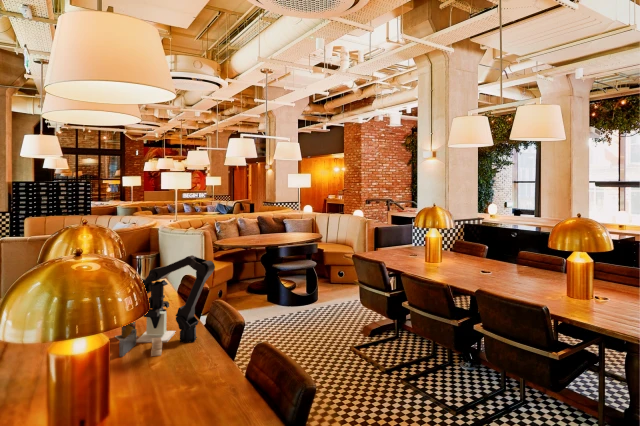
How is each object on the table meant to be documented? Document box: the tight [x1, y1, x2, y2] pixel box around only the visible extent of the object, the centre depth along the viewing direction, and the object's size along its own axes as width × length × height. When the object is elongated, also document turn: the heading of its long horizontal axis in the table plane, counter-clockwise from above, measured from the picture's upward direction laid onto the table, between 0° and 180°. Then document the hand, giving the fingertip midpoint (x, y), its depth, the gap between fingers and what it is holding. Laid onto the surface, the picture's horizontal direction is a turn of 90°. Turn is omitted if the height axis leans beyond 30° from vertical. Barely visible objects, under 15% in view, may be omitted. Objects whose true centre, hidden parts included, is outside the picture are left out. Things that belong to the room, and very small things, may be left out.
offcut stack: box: [150, 338, 163, 357], centre depth 181 cm, size 4×10×5 cm, turn 18°
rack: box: [118, 328, 138, 358], centre depth 182 cm, size 2×14×7 cm, turn 3°
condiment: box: [114, 320, 139, 342], centre depth 198 cm, size 7×8×12 cm
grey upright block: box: [145, 310, 168, 335], centre depth 199 cm, size 8×4×10 cm, turn 93°
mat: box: [136, 330, 177, 343], centre depth 199 cm, size 14×14×1 cm
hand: (156, 326), depth 199 cm, fingers closed on grey upright block, 4 cm apart
